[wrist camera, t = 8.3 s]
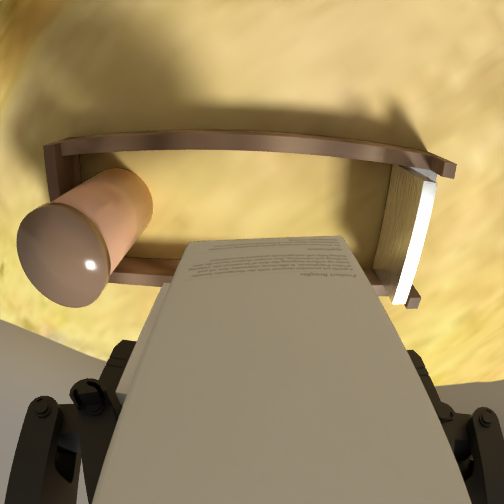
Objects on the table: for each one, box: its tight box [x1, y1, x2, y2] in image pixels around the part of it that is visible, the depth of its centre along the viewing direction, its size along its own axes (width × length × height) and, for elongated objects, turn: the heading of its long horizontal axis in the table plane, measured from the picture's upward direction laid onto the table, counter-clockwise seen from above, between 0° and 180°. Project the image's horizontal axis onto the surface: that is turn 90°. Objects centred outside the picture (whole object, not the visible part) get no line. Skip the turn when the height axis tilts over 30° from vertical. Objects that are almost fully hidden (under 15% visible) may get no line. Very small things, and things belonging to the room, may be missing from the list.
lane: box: [44, 130, 457, 309], centre depth 25 cm, size 33×13×5 cm, turn 88°
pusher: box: [373, 164, 437, 304], centre depth 25 cm, size 5×10×6 cm, turn 178°
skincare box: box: [92, 236, 472, 504], centre depth 10 cm, size 8×7×16 cm
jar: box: [17, 168, 153, 308], centre depth 23 cm, size 7×7×11 cm
